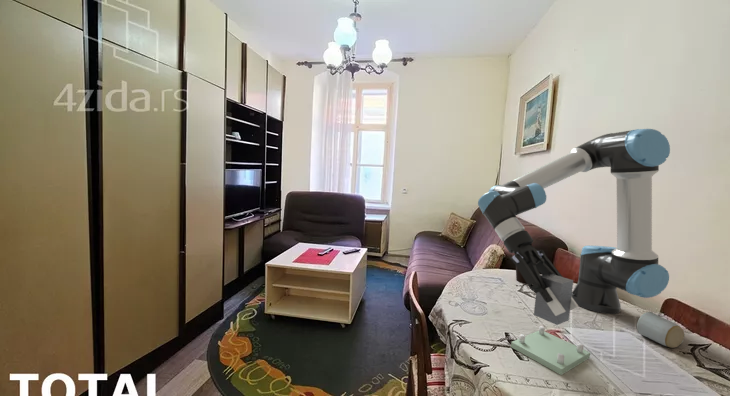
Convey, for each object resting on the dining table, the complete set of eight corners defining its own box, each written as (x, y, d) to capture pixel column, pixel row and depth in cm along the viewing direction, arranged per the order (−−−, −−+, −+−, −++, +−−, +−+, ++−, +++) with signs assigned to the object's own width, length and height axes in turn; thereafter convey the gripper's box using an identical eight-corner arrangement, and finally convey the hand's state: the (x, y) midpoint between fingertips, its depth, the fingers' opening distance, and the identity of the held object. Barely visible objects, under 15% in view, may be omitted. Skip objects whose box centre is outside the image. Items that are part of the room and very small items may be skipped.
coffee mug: (517, 283, 135) (519, 261, 135) (511, 277, 144) (512, 256, 143) (544, 286, 134) (547, 264, 133) (537, 279, 142) (539, 259, 141)
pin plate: (540, 334, 91) (541, 323, 91) (589, 357, 80) (591, 345, 80) (510, 347, 83) (512, 335, 83) (561, 375, 72) (562, 361, 72)
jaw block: (545, 310, 85) (549, 273, 84) (568, 320, 80) (573, 280, 79) (533, 315, 82) (537, 275, 81) (557, 325, 77) (561, 283, 76)
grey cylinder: (666, 351, 85) (670, 325, 85) (634, 335, 93) (638, 311, 92) (692, 348, 88) (696, 322, 87) (659, 333, 96) (662, 310, 95)
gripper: (522, 240, 97) (572, 309, 85) (485, 245, 88) (535, 324, 75) (541, 227, 92) (597, 299, 80) (503, 230, 83) (560, 312, 70)
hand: (567, 311), depth 77 cm, fingers closed on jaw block, 6 cm apart
